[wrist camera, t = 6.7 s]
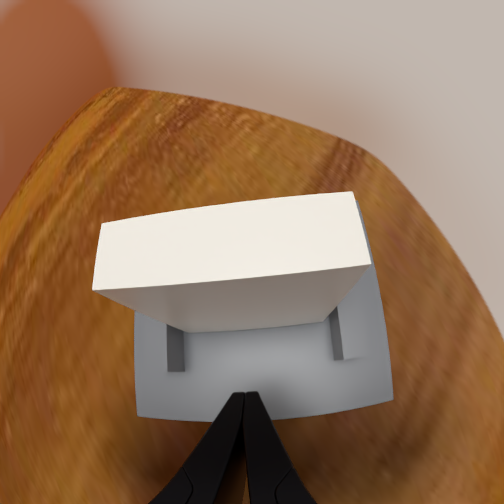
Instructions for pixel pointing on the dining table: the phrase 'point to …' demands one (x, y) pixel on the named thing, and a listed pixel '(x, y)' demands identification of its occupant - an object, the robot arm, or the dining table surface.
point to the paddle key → (235, 262)
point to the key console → (269, 362)
